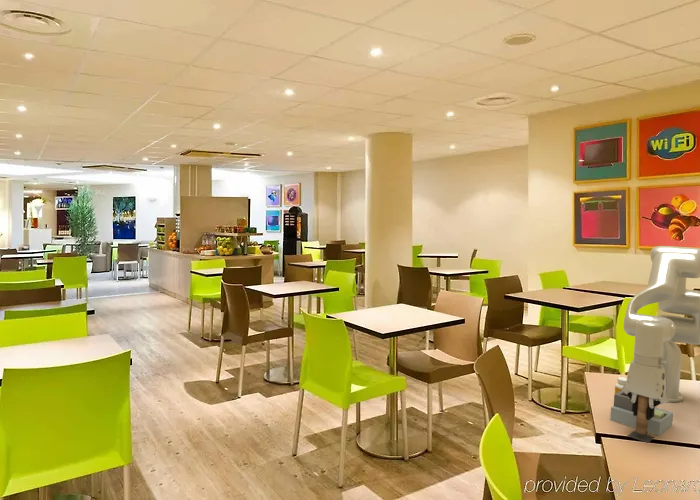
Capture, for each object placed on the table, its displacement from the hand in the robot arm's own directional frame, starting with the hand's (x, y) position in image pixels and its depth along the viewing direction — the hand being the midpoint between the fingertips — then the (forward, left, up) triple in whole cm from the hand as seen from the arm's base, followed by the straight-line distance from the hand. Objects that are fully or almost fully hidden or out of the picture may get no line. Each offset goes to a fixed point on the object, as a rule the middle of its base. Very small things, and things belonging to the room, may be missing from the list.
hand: (642, 416), depth 161 cm
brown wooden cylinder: (0, 0, -5) cm, 5 cm away
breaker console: (-11, -4, -7) cm, 14 cm away
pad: (0, 0, -7) cm, 7 cm away
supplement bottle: (-24, -15, -8) cm, 29 cm away
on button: (-11, 0, -7) cm, 13 cm away
